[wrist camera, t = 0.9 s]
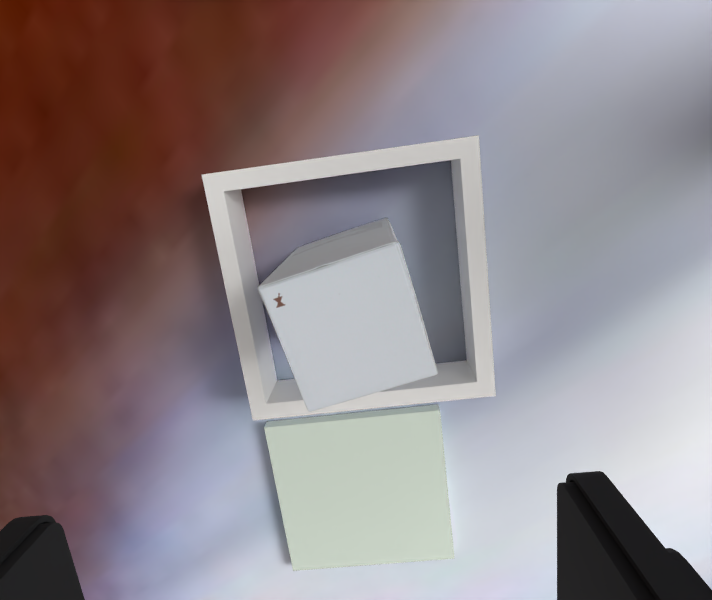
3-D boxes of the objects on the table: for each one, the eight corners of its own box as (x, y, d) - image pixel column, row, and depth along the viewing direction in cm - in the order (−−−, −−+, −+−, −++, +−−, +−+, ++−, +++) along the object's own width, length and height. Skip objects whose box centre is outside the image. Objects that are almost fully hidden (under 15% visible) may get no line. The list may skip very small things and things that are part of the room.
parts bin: (466, 139, 33) (478, 135, 29) (483, 372, 37) (495, 396, 33) (221, 174, 34) (201, 174, 30) (265, 395, 38) (252, 420, 34)
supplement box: (327, 336, 37) (302, 417, 25) (295, 245, 35) (251, 284, 23) (419, 309, 36) (441, 378, 24) (390, 214, 34) (398, 237, 22)
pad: (438, 404, 38) (439, 410, 37) (452, 549, 41) (454, 558, 40) (266, 421, 39) (264, 427, 38) (295, 561, 42) (293, 570, 41)
